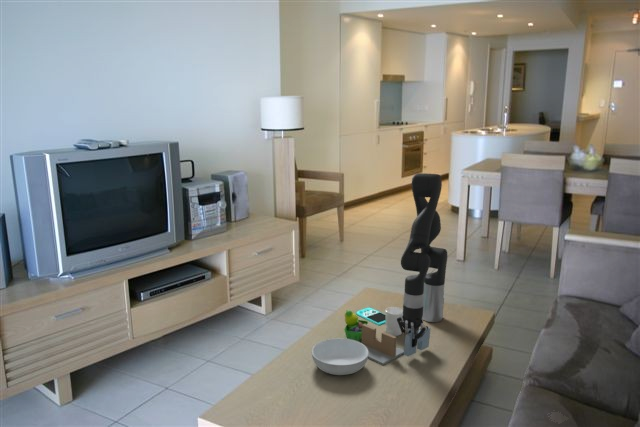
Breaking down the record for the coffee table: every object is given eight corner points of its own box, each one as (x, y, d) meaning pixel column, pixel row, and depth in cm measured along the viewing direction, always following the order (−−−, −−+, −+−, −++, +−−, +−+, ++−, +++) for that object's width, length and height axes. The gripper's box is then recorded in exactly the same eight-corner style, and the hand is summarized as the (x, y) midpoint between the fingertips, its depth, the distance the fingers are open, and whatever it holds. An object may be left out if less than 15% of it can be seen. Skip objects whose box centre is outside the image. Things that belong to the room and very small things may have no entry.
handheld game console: (369, 309, 247) (369, 306, 246) (394, 320, 235) (394, 317, 234) (353, 314, 240) (353, 311, 240) (378, 326, 228) (378, 323, 228)
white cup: (402, 328, 225) (403, 307, 223) (403, 337, 218) (404, 314, 215) (384, 327, 226) (385, 306, 224) (384, 336, 218) (385, 313, 216)
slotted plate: (424, 345, 208) (426, 326, 207) (428, 346, 207) (430, 327, 205) (403, 354, 198) (405, 334, 197) (407, 356, 197) (409, 336, 196)
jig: (373, 338, 216) (374, 319, 214) (405, 352, 205) (406, 331, 203) (350, 350, 206) (351, 329, 204) (382, 365, 195) (383, 343, 193)
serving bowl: (338, 348, 207) (338, 332, 206) (379, 368, 193) (380, 351, 191) (299, 366, 193) (299, 349, 192) (340, 389, 179) (341, 371, 177)
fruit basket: (361, 344, 211) (362, 318, 209) (340, 340, 214) (341, 315, 211) (368, 332, 222) (369, 307, 219) (347, 329, 224) (348, 304, 222)
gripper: (434, 306, 193) (431, 348, 197) (404, 295, 202) (402, 336, 207) (423, 312, 188) (420, 355, 192) (392, 300, 197) (390, 342, 201)
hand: (411, 345), depth 199 cm, fingers closed on slotted plate, 1 cm apart
